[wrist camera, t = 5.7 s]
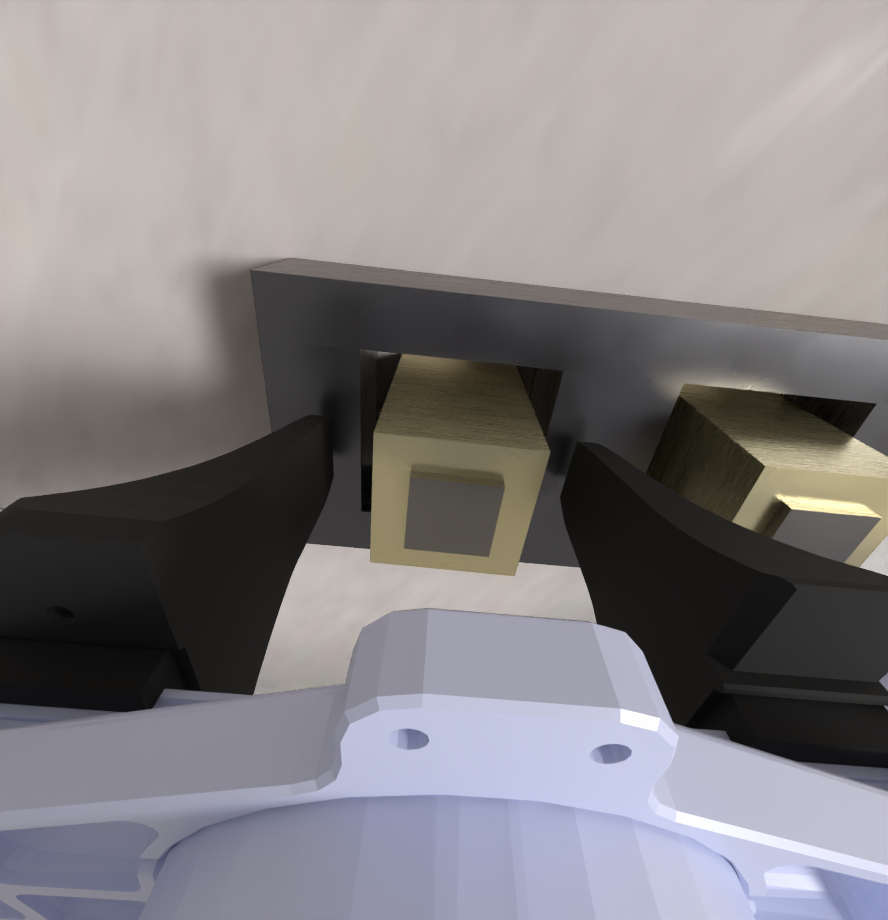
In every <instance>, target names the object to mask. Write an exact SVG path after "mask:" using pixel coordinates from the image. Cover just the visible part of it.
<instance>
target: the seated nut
mask: <svg viewBox="0 0 888 920" xmlns="http://www.w3.org/2000/svg"><path fill="white" fill-rule="evenodd" d="M646 474H647V475H648V476H650V477H651V478H653V479H655V480H656V481H658V482H659V483H661V484H662V485H664V486H666V487H667V488H669V489H671V490H672V491H674V492H676V493H677V494H679V495H681V496H682V497H684V498H686V499H688V500H689V501H691V502H693V503H695V504H697V505H699V506H701V507H703V508H705V509H706V510H708V511H710V512H712V513H714V514H716V515H718V516H720V517H722V518H725V519H727V520H729V521H731V522H733V523H735V524H738V525H740V526H743V527H745V528H747V529H750V530H752V531H754V532H757V533H759V534H761V535H764V536H766V537H769V538H772V539H774V540H777V541H779V542H782V543H785V544H787V545H790V546H793V547H796V548H799V549H802V550H805V551H807V552H810V553H813V554H816V555H819V556H822V557H825V558H829V559H832V560H835V561H839V562H842V563H846V564H849V565H852V566H856V567H860V566H861V565H862V564H863V562H864V561H865V560H866V559H867V558H868V557H869V556H870V554H871V553H872V552H873V551H874V550H875V549H876V548H877V546H878V545H879V544H880V543H881V542H882V541H883V540H884V538H885V537H886V536H887V535H888V457H887V456H885V455H883V454H882V453H880V452H878V451H876V450H875V449H873V448H871V447H869V446H867V445H866V444H864V443H862V442H860V441H859V440H857V439H855V438H853V437H852V436H850V435H848V434H846V433H845V432H843V431H841V430H839V429H837V428H836V427H834V426H832V425H830V424H829V423H827V422H825V421H823V420H822V419H820V418H818V417H816V416H815V415H813V414H811V413H809V412H808V411H806V410H804V409H802V408H800V407H799V406H797V405H795V404H793V403H792V402H790V401H788V400H786V399H785V398H783V397H781V396H779V395H778V394H776V393H772V392H762V391H752V390H743V389H733V388H724V387H714V386H705V385H695V384H686V383H684V385H683V387H682V389H681V392H680V394H679V396H678V399H677V401H676V403H675V406H674V408H673V410H672V413H671V415H670V417H669V420H668V422H667V424H666V427H665V429H664V431H663V434H662V436H661V439H660V441H659V443H658V446H657V448H656V450H655V453H654V455H653V457H652V460H651V462H650V464H649V467H648V469H647V471H646Z"/></svg>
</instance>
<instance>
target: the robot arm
mask: <svg viewBox="0 0 888 920" xmlns="http://www.w3.org/2000/svg"><path fill="white" fill-rule="evenodd" d="M333 477H334V467H333V446H332V426H331V417H328V416H318V415H308V416H305V417H303V418H300V419H298V420H296V421H294V422H292V423H290V424H288V425H286V426H285V427H283V428H281V429H279V430H277V431H275V432H273V433H271V434H269V435H267V436H265V437H263V438H261V439H259V440H257V441H254V442H252V443H250V444H248V445H245V446H243V447H241V448H239V449H237V450H234V451H232V452H230V453H227V454H225V455H222V456H220V457H217V458H214V459H211V460H209V461H206V462H203V463H200V464H197V465H194V466H191V467H187V468H184V469H180V470H176V471H172V472H169V473H165V474H161V475H158V476H154V477H150V478H146V479H141V480H136V481H132V482H127V483H122V484H117V485H111V486H106V487H100V488H94V489H88V490H81V491H73V492H65V493H58V494H50V495H42V496H34V497H24V498H20V499H18V500H17V501H15V502H14V503H12V504H11V505H9V506H8V507H6V508H5V509H4V510H2V511H1V512H0V920H888V576H886V575H883V574H879V573H876V572H873V571H869V570H866V569H862V568H859V567H856V566H852V565H849V564H846V563H842V562H839V561H835V560H832V559H829V558H825V557H822V556H819V555H816V554H813V553H810V552H807V551H805V550H802V549H799V548H796V547H793V546H790V545H787V544H785V543H782V542H779V541H777V540H774V539H772V538H769V537H766V536H764V535H761V534H759V533H757V532H754V531H752V530H750V529H747V528H745V527H743V526H740V525H738V524H735V523H733V522H731V521H729V520H727V519H725V518H722V517H720V516H718V515H716V514H714V513H712V512H710V511H708V510H706V509H705V508H703V507H701V506H699V505H697V504H695V503H693V502H691V501H689V500H688V499H686V498H684V497H682V496H681V495H679V494H677V493H676V492H674V491H672V490H671V489H669V488H667V487H666V486H664V485H662V484H661V483H659V482H658V481H656V480H655V479H653V478H651V477H650V476H648V475H647V474H645V473H644V472H642V471H641V470H639V469H638V468H636V467H635V466H633V465H632V464H631V463H629V462H628V461H626V460H625V459H623V458H622V457H620V456H619V455H617V454H616V453H614V452H612V451H611V450H609V449H608V448H606V447H604V446H602V445H600V444H598V443H591V442H581V441H577V443H576V446H575V449H574V453H573V456H572V459H571V462H570V466H569V469H568V472H567V475H566V479H565V482H564V485H563V489H562V492H561V495H560V501H561V507H562V513H563V518H564V522H565V526H566V529H567V532H568V535H569V538H570V541H571V544H572V546H573V549H574V552H575V555H576V557H577V560H578V563H579V566H580V568H581V571H582V574H583V577H584V579H585V582H586V585H587V588H588V591H589V594H590V597H591V600H592V604H593V608H594V613H595V617H596V621H597V624H595V623H592V622H588V621H577V620H565V619H553V618H541V617H529V616H518V615H506V614H494V613H482V612H470V611H458V610H446V609H434V608H423V609H412V610H401V611H393V612H391V613H389V614H387V615H385V616H383V617H381V618H380V619H378V620H376V621H374V622H372V623H371V624H369V625H367V626H365V627H363V628H362V630H361V633H360V635H359V637H358V640H357V642H356V644H355V646H354V649H353V653H352V657H351V661H350V666H349V670H348V674H347V679H346V683H345V684H339V685H331V686H323V687H316V688H308V689H300V690H293V691H285V692H277V693H270V694H262V695H253V694H254V690H255V686H256V683H257V679H258V676H259V673H260V669H261V666H262V663H263V660H264V656H265V653H266V650H267V646H268V643H269V640H270V637H271V634H272V631H273V628H274V624H275V621H276V618H277V615H278V612H279V609H280V606H281V603H282V600H283V598H284V595H285V592H286V589H287V586H288V583H289V581H290V578H291V575H292V573H293V570H294V568H295V566H296V563H297V561H298V559H299V557H300V555H301V553H302V551H303V549H304V547H305V545H306V543H307V541H308V539H309V537H310V535H311V533H312V530H313V528H314V526H315V524H316V522H317V520H318V518H319V516H320V514H321V512H322V510H323V508H324V505H325V503H326V500H327V497H328V494H329V491H330V488H331V484H332V481H333Z"/></svg>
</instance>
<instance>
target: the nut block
mask: <svg viewBox="0 0 888 920" xmlns="http://www.w3.org/2000/svg"><path fill="white" fill-rule="evenodd" d="M549 456H550V449H549V447H548V444H547V442H546V439H545V437H544V434H543V432H542V429H541V427H540V425H539V422H538V420H537V417H536V415H535V412H534V410H533V407H532V405H531V402H530V400H529V397H528V395H527V392H526V390H525V387H524V385H523V382H522V380H521V377H520V375H519V372H518V370H517V367H516V366H507V365H499V364H490V363H482V362H474V361H465V360H457V359H447V358H438V357H428V356H419V355H409V354H402V356H401V358H400V361H399V364H398V367H397V369H396V372H395V375H394V378H393V380H392V383H391V386H390V389H389V391H388V394H387V397H386V400H385V402H384V405H383V408H382V411H381V413H380V416H379V419H378V422H377V424H376V427H375V430H374V436H373V472H372V508H371V543H370V562H374V563H385V564H395V565H405V566H416V567H426V568H436V569H446V570H457V571H467V572H477V573H488V574H498V575H508V576H515V573H516V570H517V566H518V563H519V560H520V556H521V553H522V549H523V546H524V542H525V539H526V535H527V532H528V528H529V525H530V521H531V518H532V514H533V511H534V508H535V504H536V501H537V497H538V494H539V490H540V487H541V483H542V480H543V476H544V473H545V469H546V466H547V462H548V459H549Z"/></svg>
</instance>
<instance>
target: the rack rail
mask: <svg viewBox="0 0 888 920" xmlns="http://www.w3.org/2000/svg"><path fill="white" fill-rule="evenodd" d="M250 272H251V280H252V287H253V295H254V302H255V310H256V317H257V325H258V332H259V340H260V347H261V355H262V362H263V369H264V377H265V384H266V392H267V399H268V407H269V414H270V422H271V429H272V433H273V432H275V431H277V430H279V429H281V428H283V427H285V426H286V425H288V424H290V423H292V422H294V421H296V420H298V419H300V418H303V417H305V416H308V415H318V416H328V417H331V426H332V446H333V467H334V477H333V481H332V484H331V488H330V491H329V494H328V497H327V500H326V503H325V505H324V508H323V510H322V512H321V514H320V516H319V518H318V520H317V522H316V524H315V526H314V528H313V530H312V533H311V535H310V537H309V539H308V541H307V543H309V544H320V545H331V546H343V547H354V548H365V549H370V543H371V508H372V472H373V436H374V430H375V427H376V401H377V351H381V352H390V353H400V354H409V355H419V356H428V357H438V358H447V359H457V360H466V361H476V362H486V363H495V364H505V365H514V366H524V367H533V368H537V372H536V376H535V381H534V385H533V390H532V394H531V398H530V402H531V405H532V407H533V410H534V412H535V415H536V417H537V420H538V422H539V425H540V427H541V429H542V432H543V434H544V437H545V439H546V442H547V444H548V447H549V449H550V456H549V459H548V462H547V466H546V469H545V473H544V476H543V480H542V483H541V487H540V490H539V494H538V497H537V501H536V504H535V508H534V511H533V514H532V518H531V521H530V525H529V528H528V532H527V535H526V539H525V542H524V546H523V549H522V553H521V556H520V560H519V562H524V563H535V564H546V565H558V566H569V567H580V566H579V563H578V560H577V557H576V555H575V552H574V549H573V546H572V544H571V541H570V538H569V535H568V532H567V529H566V526H565V522H564V518H563V513H562V507H561V501H560V495H561V492H562V489H563V485H564V482H565V479H566V475H567V472H568V469H569V466H570V462H571V459H572V456H573V453H574V449H575V446H576V443H577V441H581V442H591V443H598V444H600V445H602V446H604V447H606V448H608V449H609V450H611V451H612V452H614V453H616V454H617V455H619V456H620V457H622V458H623V459H625V460H626V461H628V462H629V463H631V464H632V465H633V466H635V467H636V468H638V469H639V470H641V471H642V472H644V473H645V474H646V471H647V469H648V467H649V464H650V462H651V460H652V457H653V455H654V453H655V450H656V448H657V446H658V443H659V441H660V439H661V436H662V434H663V431H664V429H665V427H666V424H667V422H668V420H669V417H670V415H671V413H672V410H673V408H674V406H675V403H676V401H677V399H678V396H679V394H680V392H681V389H682V387H683V385H684V383H686V384H695V385H705V386H714V387H724V388H733V389H743V390H752V391H762V392H772V393H781V394H786V395H785V397H784V398H785V399H786V400H788V401H790V402H792V403H793V404H795V405H797V406H799V407H800V408H802V409H804V410H806V411H808V412H809V413H811V414H813V415H815V416H816V417H818V418H820V419H822V420H823V421H825V422H827V423H829V424H830V425H832V426H834V427H836V428H837V429H839V430H841V431H843V432H845V433H846V434H848V435H850V436H852V437H853V438H855V439H857V440H859V441H860V442H862V443H864V444H866V445H867V446H869V447H871V448H873V449H875V450H876V451H878V452H880V453H882V454H883V455H885V456H887V457H888V325H887V324H878V323H869V322H860V321H851V320H842V319H833V318H824V317H815V316H806V315H797V314H789V313H780V312H771V311H762V310H753V309H744V308H735V307H726V306H717V305H708V304H699V303H690V302H681V301H672V300H663V299H654V298H645V297H637V296H628V295H619V294H610V293H601V292H592V291H583V290H574V289H565V288H556V287H547V286H538V285H529V284H520V283H511V282H502V281H493V280H485V279H476V278H467V277H458V276H449V275H440V274H431V273H422V272H413V271H404V270H395V269H386V268H377V267H368V266H359V265H350V264H341V263H332V262H324V261H315V260H306V259H297V258H289V259H286V260H282V261H279V262H275V263H272V264H269V265H265V266H262V267H258V268H255V269H251V270H250Z"/></svg>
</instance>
